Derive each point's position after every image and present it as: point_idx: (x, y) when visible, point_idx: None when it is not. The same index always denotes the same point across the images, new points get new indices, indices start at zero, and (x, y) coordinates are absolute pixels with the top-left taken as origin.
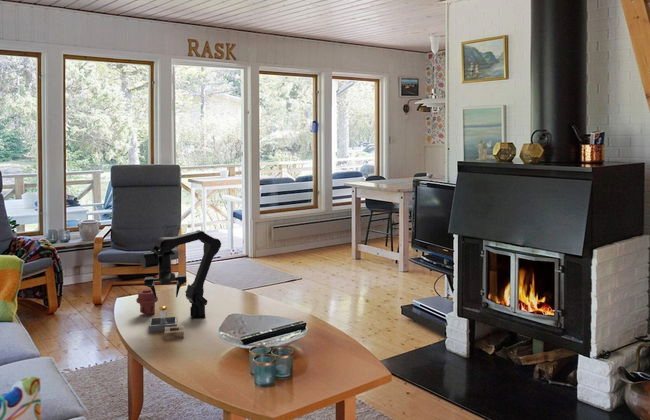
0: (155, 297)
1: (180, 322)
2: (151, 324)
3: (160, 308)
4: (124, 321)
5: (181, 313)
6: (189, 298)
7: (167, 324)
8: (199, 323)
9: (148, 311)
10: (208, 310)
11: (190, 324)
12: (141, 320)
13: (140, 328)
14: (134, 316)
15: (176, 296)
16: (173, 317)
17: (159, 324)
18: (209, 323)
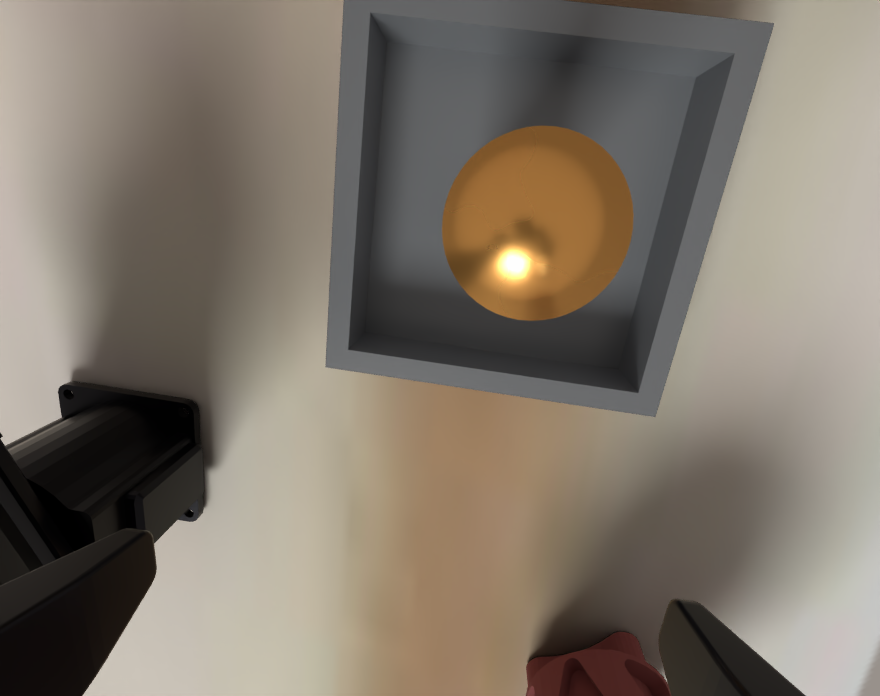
0: (729, 639)
1: (314, 330)
2: (664, 244)
3: (611, 160)
4: (855, 568)
5: (295, 585)
6: (1, 581)
7: (481, 14)
8: (116, 219)
9: (606, 665)
10: None
11: (210, 219)
12: (686, 536)
13: (770, 279)
14: None
15: (123, 538)
16: (370, 350)
17: None
18: (9, 178)
